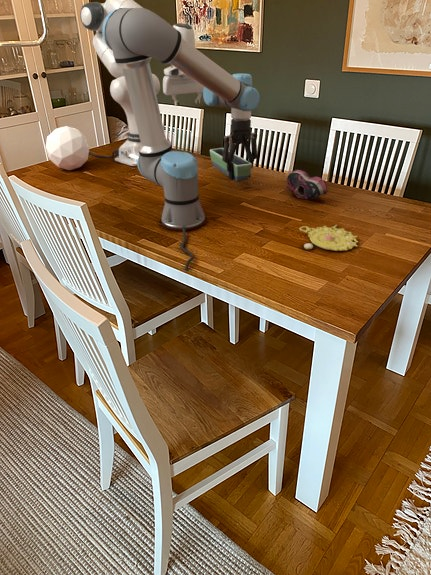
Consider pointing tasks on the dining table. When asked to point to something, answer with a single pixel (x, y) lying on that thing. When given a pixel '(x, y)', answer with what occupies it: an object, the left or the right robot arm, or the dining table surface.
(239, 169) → the planter
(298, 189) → the athletic shoe
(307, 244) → the decorative object
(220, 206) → the dining table surface
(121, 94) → the left robot arm
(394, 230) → the dining table surface
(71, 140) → the sphere
